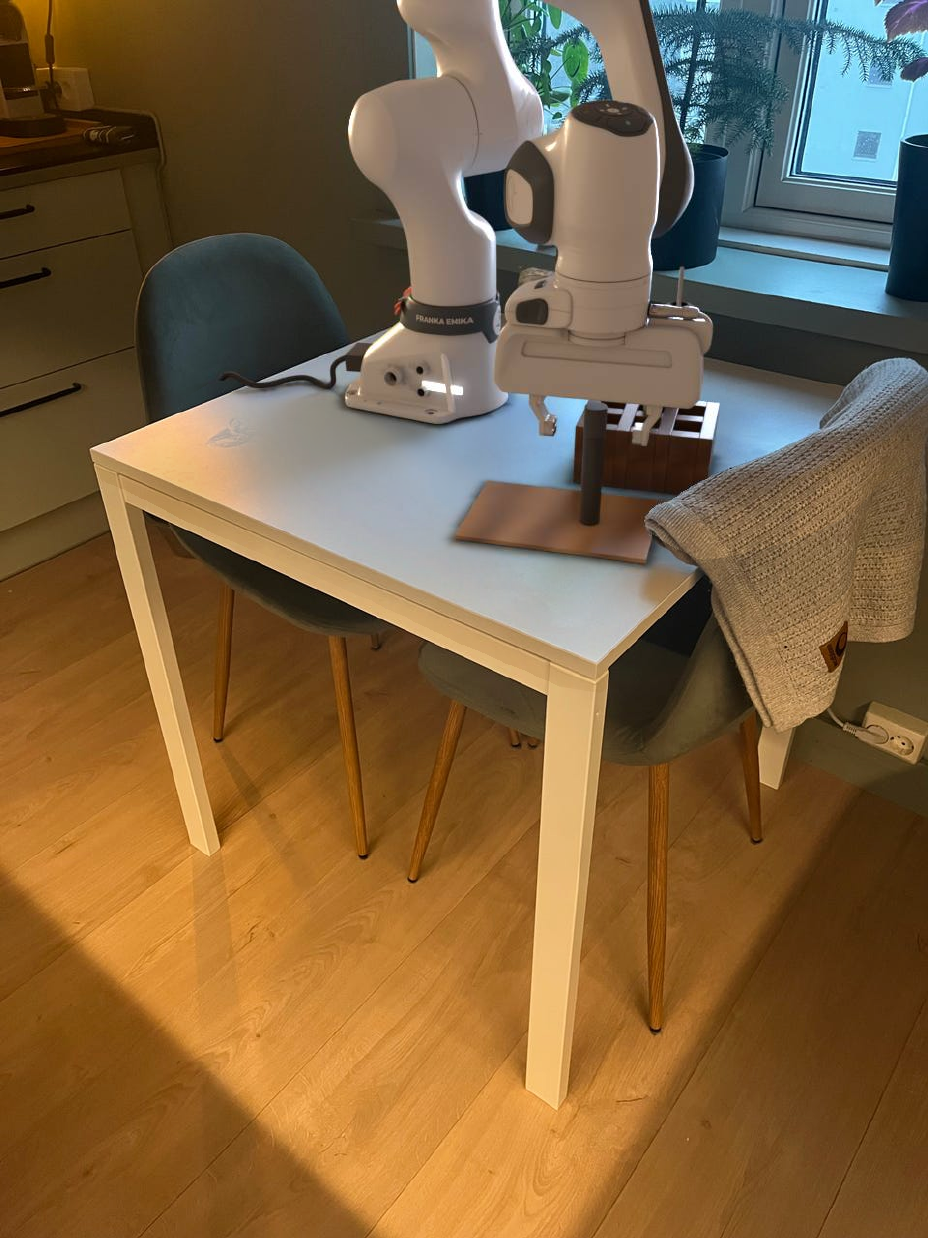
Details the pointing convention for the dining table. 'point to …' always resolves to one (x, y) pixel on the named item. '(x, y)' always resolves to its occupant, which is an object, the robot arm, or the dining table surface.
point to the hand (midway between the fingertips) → (593, 438)
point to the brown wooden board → (558, 522)
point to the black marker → (592, 462)
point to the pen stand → (655, 447)
